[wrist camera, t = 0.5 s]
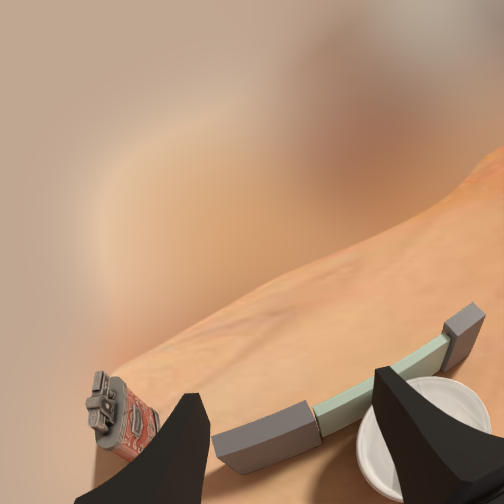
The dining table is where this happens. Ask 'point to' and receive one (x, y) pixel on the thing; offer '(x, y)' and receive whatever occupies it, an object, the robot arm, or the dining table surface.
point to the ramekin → (438, 393)
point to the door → (360, 396)
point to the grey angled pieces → (302, 420)
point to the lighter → (120, 417)
